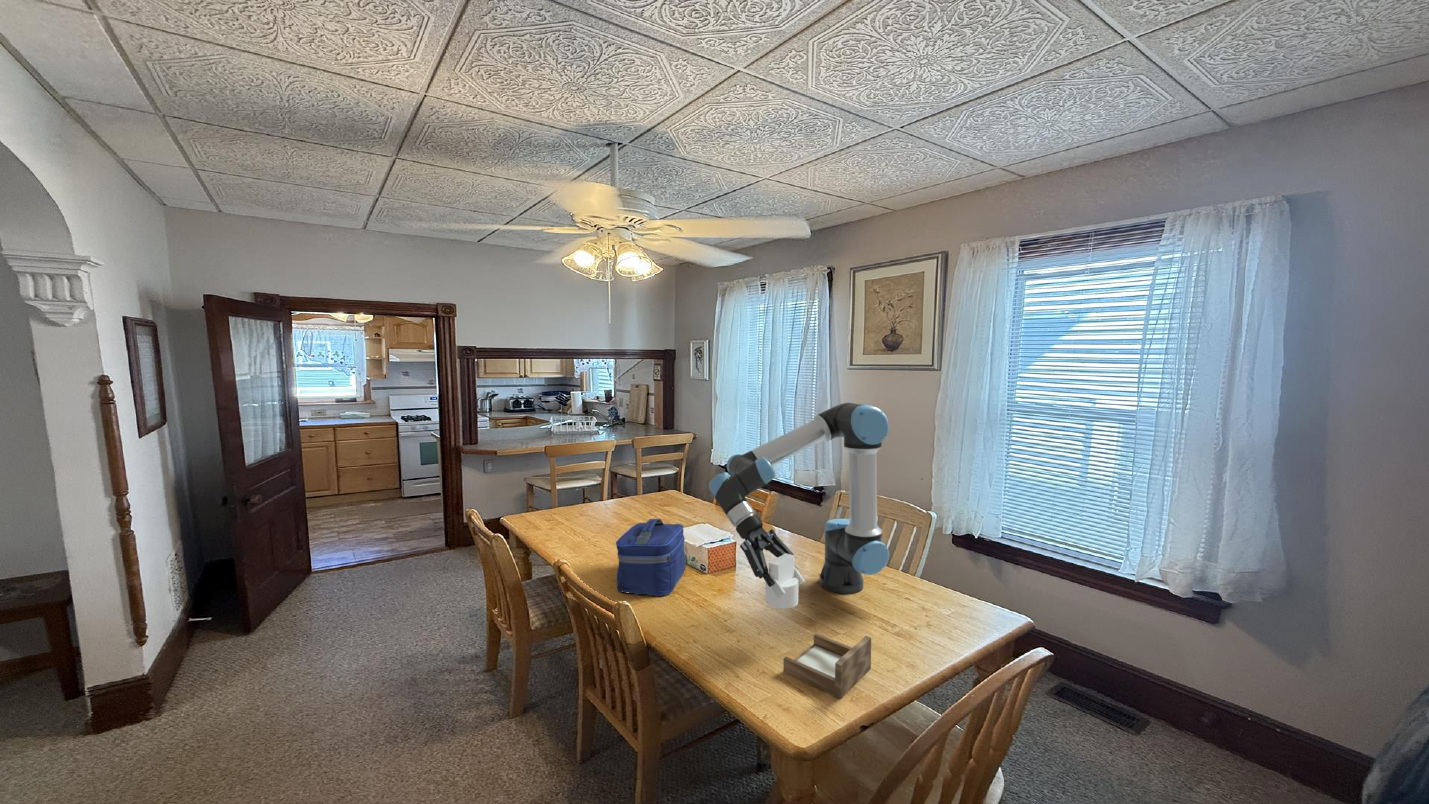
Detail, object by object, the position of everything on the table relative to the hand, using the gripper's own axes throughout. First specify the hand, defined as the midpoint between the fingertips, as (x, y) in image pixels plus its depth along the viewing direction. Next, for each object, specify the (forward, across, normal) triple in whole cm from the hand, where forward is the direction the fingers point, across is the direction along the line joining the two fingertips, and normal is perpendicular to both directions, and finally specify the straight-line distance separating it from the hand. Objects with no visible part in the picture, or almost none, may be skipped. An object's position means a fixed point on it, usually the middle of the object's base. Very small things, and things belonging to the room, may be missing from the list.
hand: (791, 589), depth 142 cm
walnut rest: (+21, +3, -3) cm, 21 cm away
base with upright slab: (+1, 0, -6) cm, 6 cm away
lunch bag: (-33, -5, -57) cm, 66 cm away
